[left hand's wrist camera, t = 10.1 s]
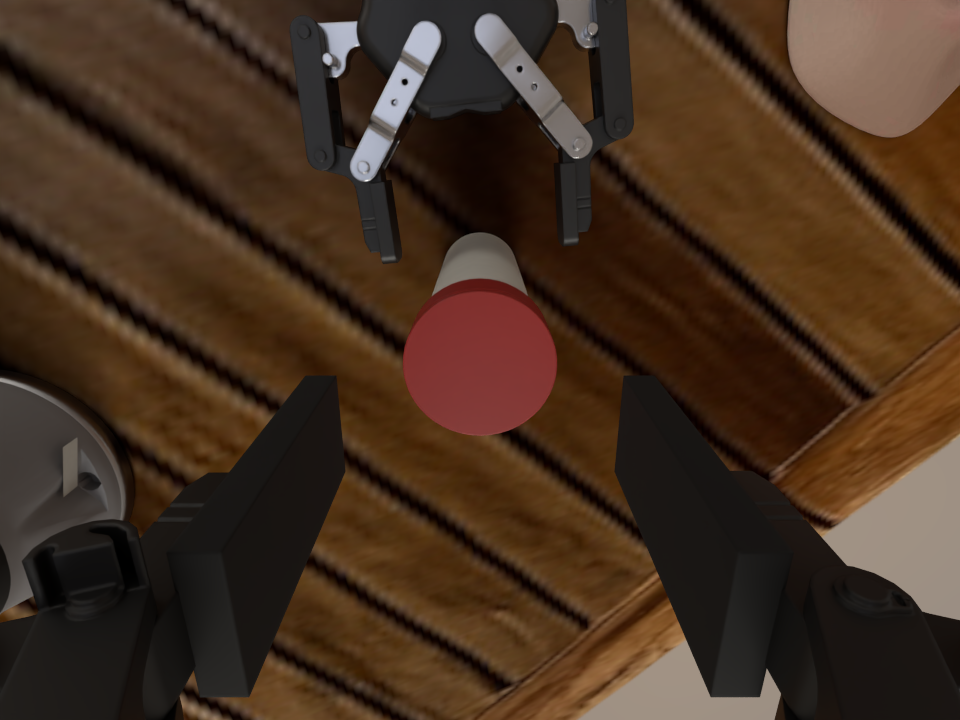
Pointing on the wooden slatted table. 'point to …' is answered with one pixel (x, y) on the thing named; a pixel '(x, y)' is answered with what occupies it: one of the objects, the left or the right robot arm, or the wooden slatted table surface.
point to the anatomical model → (876, 59)
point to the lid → (480, 357)
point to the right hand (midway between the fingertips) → (480, 252)
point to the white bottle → (479, 262)
